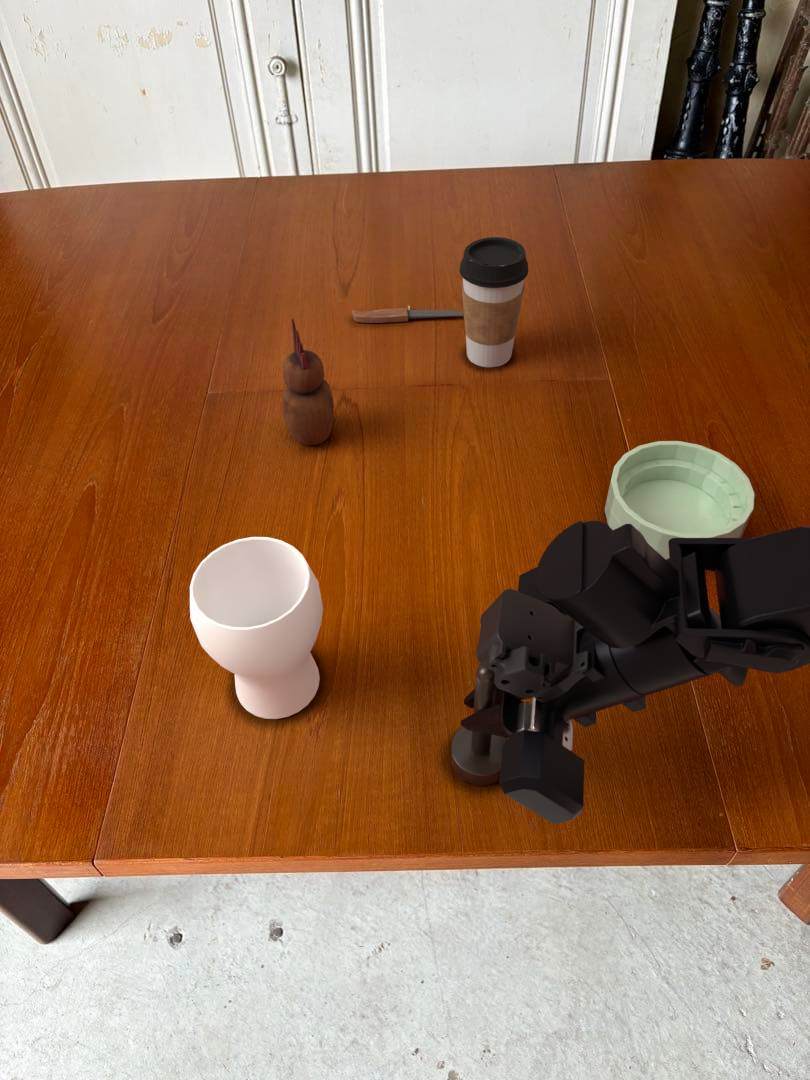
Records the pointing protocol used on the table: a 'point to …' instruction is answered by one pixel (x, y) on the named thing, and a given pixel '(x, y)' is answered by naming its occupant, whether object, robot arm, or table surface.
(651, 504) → the mixing bowl
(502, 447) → the table surface
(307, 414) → the wooden figurine
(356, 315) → the knife
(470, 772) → the joystick
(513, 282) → the coffee cup
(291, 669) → the cup
